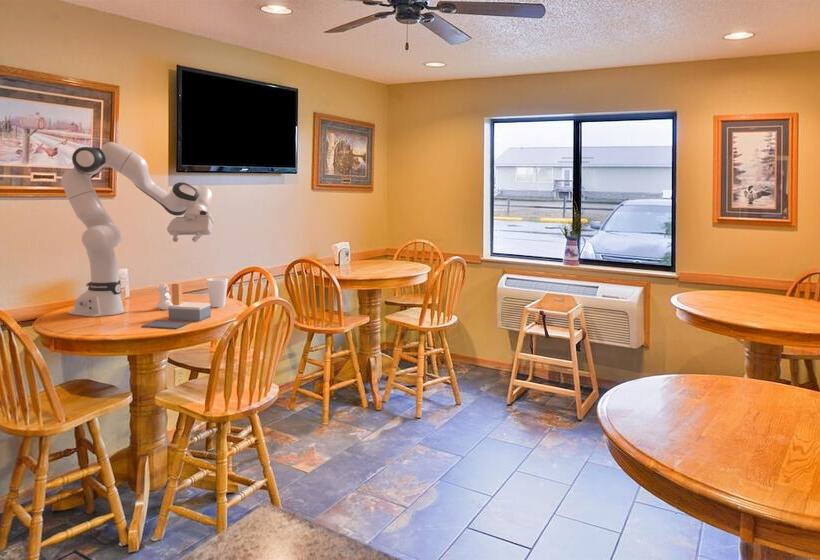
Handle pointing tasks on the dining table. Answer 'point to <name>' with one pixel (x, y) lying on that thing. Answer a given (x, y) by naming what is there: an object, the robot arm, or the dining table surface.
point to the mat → (166, 324)
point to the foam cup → (217, 291)
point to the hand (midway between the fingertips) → (184, 241)
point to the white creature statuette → (164, 297)
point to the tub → (189, 314)
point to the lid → (178, 300)
